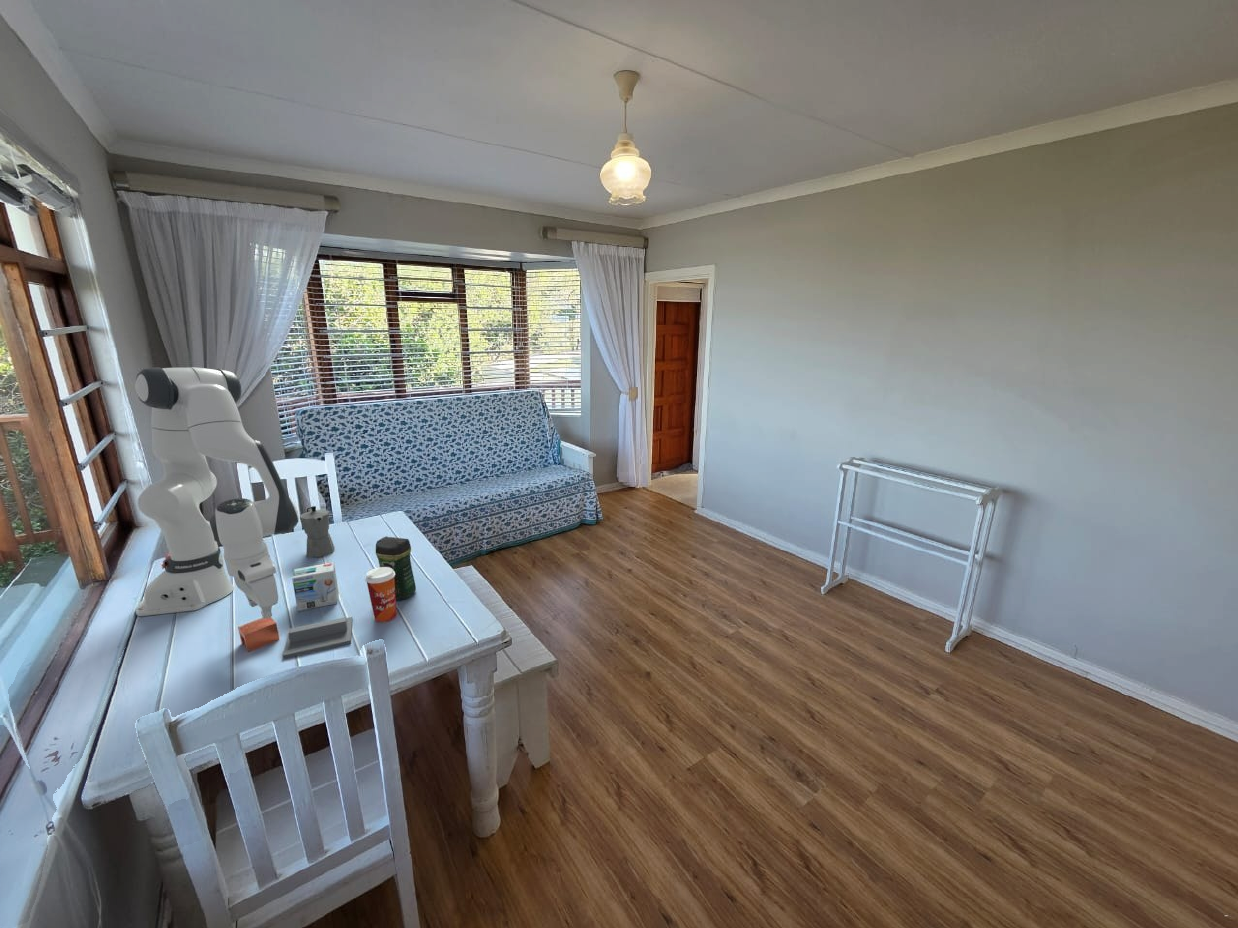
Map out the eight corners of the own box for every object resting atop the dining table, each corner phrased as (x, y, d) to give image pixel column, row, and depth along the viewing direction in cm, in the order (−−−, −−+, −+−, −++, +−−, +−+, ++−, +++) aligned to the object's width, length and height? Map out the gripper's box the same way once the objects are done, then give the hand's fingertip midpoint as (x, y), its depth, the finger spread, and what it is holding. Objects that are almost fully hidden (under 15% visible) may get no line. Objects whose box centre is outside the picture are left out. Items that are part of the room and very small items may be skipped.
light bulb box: (297, 611, 144) (290, 578, 142) (299, 601, 150) (293, 568, 147) (339, 603, 149) (333, 570, 146) (339, 592, 155) (334, 561, 152)
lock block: (248, 652, 126) (244, 635, 125) (241, 643, 130) (237, 626, 129) (279, 639, 132) (276, 622, 130) (272, 631, 135) (269, 615, 134)
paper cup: (381, 627, 137) (375, 581, 134) (365, 618, 141) (358, 574, 137) (406, 614, 144) (400, 570, 140) (390, 606, 148) (384, 563, 144)
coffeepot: (340, 554, 181) (333, 507, 176) (311, 562, 175) (302, 514, 170) (328, 541, 192) (321, 497, 187) (300, 548, 185) (292, 503, 181)
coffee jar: (420, 589, 157) (414, 535, 152) (404, 602, 150) (397, 545, 145) (394, 585, 159) (387, 531, 154) (376, 598, 152) (369, 542, 147)
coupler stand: (283, 658, 124) (280, 644, 123) (290, 633, 134) (287, 620, 133) (351, 643, 130) (348, 629, 129) (352, 619, 141) (350, 607, 140)
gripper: (220, 556, 129) (233, 603, 133) (247, 579, 117) (260, 630, 121) (249, 548, 134) (260, 593, 138) (277, 568, 122) (289, 618, 125)
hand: (260, 611), depth 129 cm, fingers open, 8 cm apart
